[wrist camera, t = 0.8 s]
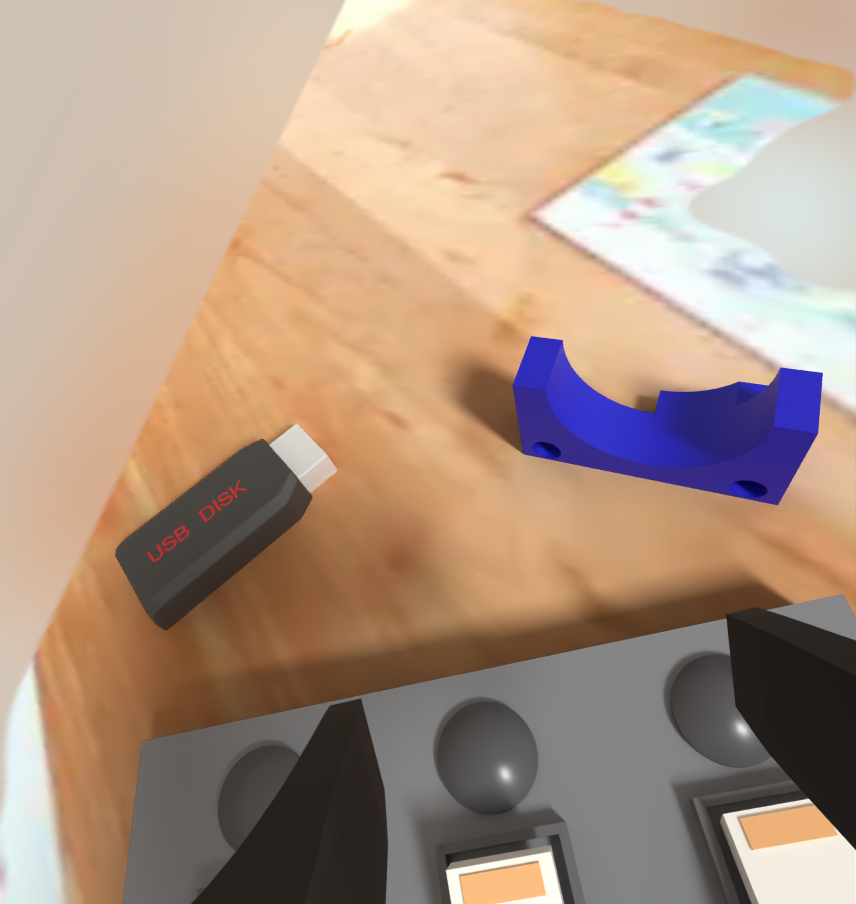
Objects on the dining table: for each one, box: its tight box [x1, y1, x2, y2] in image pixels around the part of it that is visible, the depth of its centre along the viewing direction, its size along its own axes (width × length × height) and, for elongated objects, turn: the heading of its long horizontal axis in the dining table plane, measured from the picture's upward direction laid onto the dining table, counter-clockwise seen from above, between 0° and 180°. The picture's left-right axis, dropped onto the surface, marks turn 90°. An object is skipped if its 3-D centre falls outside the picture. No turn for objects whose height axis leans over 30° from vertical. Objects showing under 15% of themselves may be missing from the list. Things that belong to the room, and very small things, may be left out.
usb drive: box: [115, 423, 337, 630], centre depth 33 cm, size 5×12×3 cm, turn 130°
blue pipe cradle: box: [513, 336, 823, 505], centre depth 28 cm, size 12×4×6 cm, turn 69°
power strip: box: [123, 594, 856, 904], centre depth 20 cm, size 13×35×4 cm, turn 98°
